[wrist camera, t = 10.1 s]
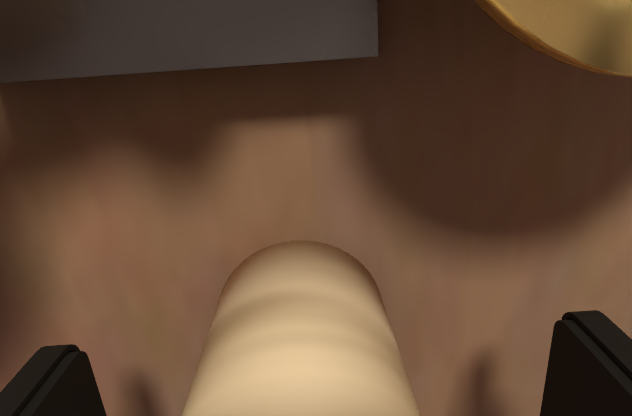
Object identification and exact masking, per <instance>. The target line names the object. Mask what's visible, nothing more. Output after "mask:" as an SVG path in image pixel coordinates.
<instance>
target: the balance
mask: <svg viewBox="0 0 632 416" xmlns="http://www.w3.org/2000/svg"><path fill="white" fill-rule="evenodd" d="M473 1H474V2H475V3H476V4H477V5H479V6H480V7H481V8H482V9H483V10H484V11H485V12H486V13H487V14H488V15H489V16H490V17H491V18H492V19H493V20H494V21H495V22H496V23H497V24H498V25H499V26H501V27H502V28H503V29H505V30H506V31H508V32H509V33H510V34H512V35H513V36H515V37H516V38H518V39H519V40H521V41H522V42H523V43H525V44H526V45H528V46H529V47H531V48H533V49H535V50H537V51H539V52H541V53H543V54H545V55H547V56H549V57H551V58H553V59H556V60H558V61H560V62H562V63H565V64H569V65H572V66H575V67H578V68H582V69H585V70H588V71H592V72H595V73H602V74H609V75H616V76H623V77H631V78H632V0H473ZM377 56H378V1H377V0H0V83H6V82H20V81H34V80H49V79H63V78H77V77H91V76H106V75H120V74H134V73H148V72H163V71H177V70H191V69H205V68H220V67H234V66H248V65H263V64H277V63H291V62H305V61H320V60H334V59H348V58H362V57H377Z"/></svg>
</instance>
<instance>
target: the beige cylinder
mask: <svg viewBox="0 0 632 416" xmlns="http://www.w3.org/2000/svg"><path fill="white" fill-rule="evenodd" d="M182 416H420V414H419V411H418V408H417V405H416V401H415V398H414V395H413V392H412V389H411V386H410V383H409V380H408V377H407V374H406V371H405V368H404V365H403V362H402V359H401V356H400V353H399V350H398V347H397V344H396V341H395V338H394V335H393V331H392V328H391V325H390V322H389V319H388V316H387V313H386V310H385V307H384V304H383V301H382V298H381V295H380V292H379V289H378V287H377V285H376V282H375V281H374V279H373V277H372V276H371V274H370V273H369V272H368V270H367V269H366V268H365V267H364V266H363V265H362V264H361V263H360V262H359V261H358V260H357V259H355V258H354V257H353V256H351V255H350V254H348V253H346V252H344V251H342V250H341V249H339V248H336V247H333V246H330V245H328V244H323V243H319V242H312V241H291V242H283V243H279V244H275V245H272V246H269V247H267V248H264V249H262V250H260V251H258V252H256V253H254V254H253V255H251V256H250V257H248V258H247V259H246V260H244V261H243V262H242V263H241V264H240V265H239V266H238V267H237V268H236V269H235V270H234V271H233V273H232V274H231V275H230V276H229V278H228V280H227V282H226V283H225V285H224V288H223V290H222V293H221V296H220V299H219V302H218V305H217V308H216V311H215V314H214V317H213V320H212V324H211V327H210V330H209V333H208V336H207V339H206V342H205V345H204V348H203V351H202V354H201V357H200V360H199V363H198V367H197V370H196V373H195V376H194V379H193V382H192V385H191V388H190V391H189V394H188V397H187V400H186V403H185V407H184V410H183V413H182Z"/></svg>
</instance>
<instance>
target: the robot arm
mask: <svg viewBox="0 0 632 416" xmlns="http://www.w3.org/2000/svg"><path fill="white" fill-rule="evenodd" d="M0 416H106V412H105V409H104V406H103V403H102V400H101V396H100V393H99V390H98V387H97V384H96V380H95V377H94V374H93V371H92V368H91V364H90V361H89V358H88V356H87V354H86V353H85V352H83V351H80V350H79V348H78V347H77V346H76V345H72V344H71V345H56V346H44V347H41V348H40V349H39V350H38V351H37V352H36V353H35V354H34V355H33V356H32V357H31V358H30V360H29V361H28V362H27V363H26V364H25V365H24V366H23V367H22V369H21V370H20V371H19V372H18V373H17V374H16V375H15V377H14V378H13V379H12V380H11V381H10V382H9V383H8V384H7V386H6V387H5V388H4V389H3V390H2V391H1V392H0ZM540 416H632V339H631V338H629V337H628V336H627V335H626V334H625V333H624V332H623V331H622V330H621V329H620V328H618V327H617V326H616V325H615V324H614V323H613V322H612V321H611V320H610V319H609V318H607V317H606V316H605V315H604V314H603V313H601V312H600V311H596V310H594V311H579V312H567V313H565V314H564V315H563V317H562V320H559V321H557V322H556V323H555V325H554V330H553V336H552V342H551V349H550V355H549V362H548V368H547V374H546V381H545V387H544V393H543V400H542V406H541V412H540Z"/></svg>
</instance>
